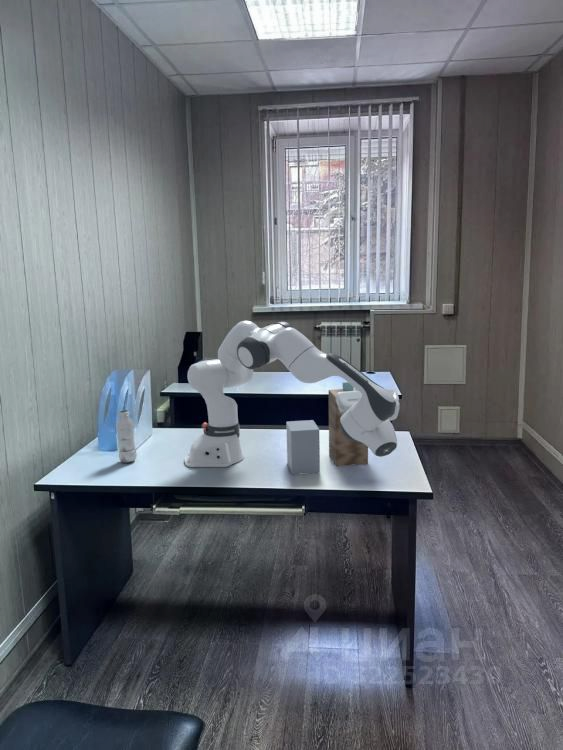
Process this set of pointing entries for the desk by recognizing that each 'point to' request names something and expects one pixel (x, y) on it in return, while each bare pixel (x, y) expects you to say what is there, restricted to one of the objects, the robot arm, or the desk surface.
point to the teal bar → (347, 387)
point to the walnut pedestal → (343, 439)
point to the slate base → (303, 447)
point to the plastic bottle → (126, 437)
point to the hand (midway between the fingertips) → (361, 384)
